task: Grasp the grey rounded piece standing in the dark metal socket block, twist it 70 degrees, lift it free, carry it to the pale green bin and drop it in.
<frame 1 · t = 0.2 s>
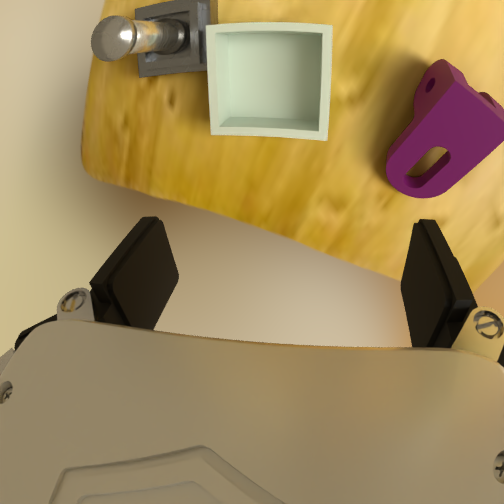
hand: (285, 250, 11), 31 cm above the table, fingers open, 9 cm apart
bin: (274, 75, 34), on the table
mounting bracket: (430, 132, 34), on the table
grey rounded piece: (171, 36, 30), point 3 cm above the table, touching socket block
socket block: (181, 36, 32), on the table
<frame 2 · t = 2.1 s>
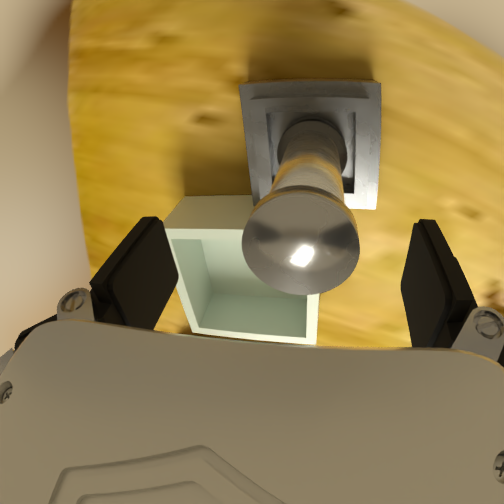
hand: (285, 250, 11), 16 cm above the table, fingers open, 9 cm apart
bin: (256, 253, 32), on the table
grey rounded piece: (313, 147, 22), point 3 cm above the table, touching socket block
socket block: (314, 137, 24), on the table
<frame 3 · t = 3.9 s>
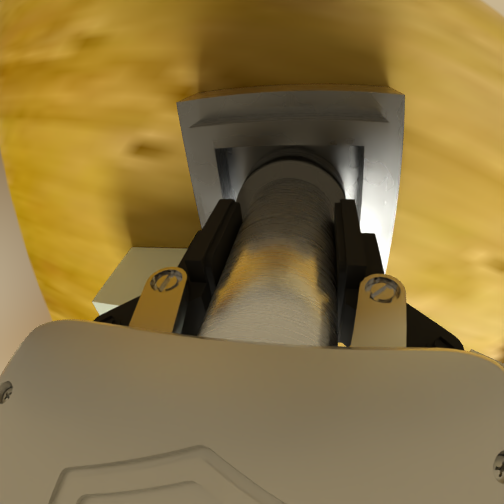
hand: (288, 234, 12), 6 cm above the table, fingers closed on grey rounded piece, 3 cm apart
bin: (227, 314, 25), on the table
grey rounded piece: (294, 196, 15), point 3 cm above the table, touching gripper, socket block
socket block: (297, 172, 17), on the table
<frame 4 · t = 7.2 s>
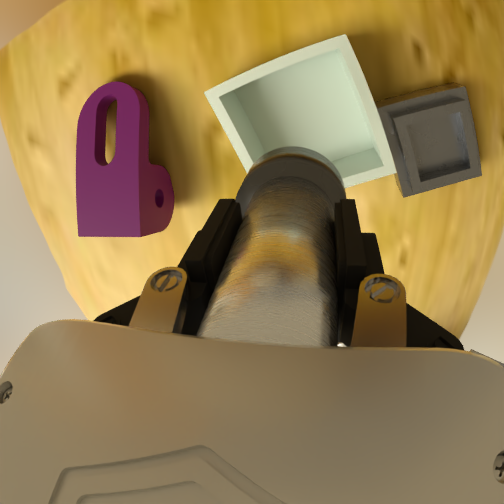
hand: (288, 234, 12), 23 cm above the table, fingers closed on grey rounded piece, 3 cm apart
bin: (306, 115, 30), on the table
mounting bracket: (132, 148, 36), on the table
grey rounded piece: (294, 194, 14), point 19 cm above the table, touching gripper
socket block: (426, 134, 28), on the table
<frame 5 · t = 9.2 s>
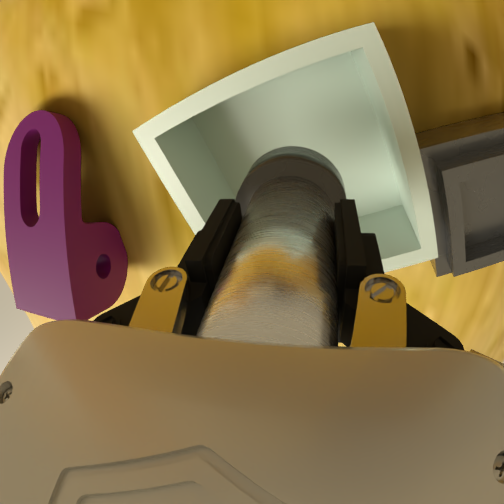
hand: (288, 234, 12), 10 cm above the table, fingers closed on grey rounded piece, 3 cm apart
bin: (302, 153, 20), on the table
mounting bracket: (73, 193, 26), on the table
grey rounded piece: (294, 194, 14), point 7 cm above the table, touching gripper
socket block: (475, 184, 18), on the table
when the fingers open (6 cm above the table, at t = 10.9 s): grey rounded piece drops 2 cm, resting on bin.
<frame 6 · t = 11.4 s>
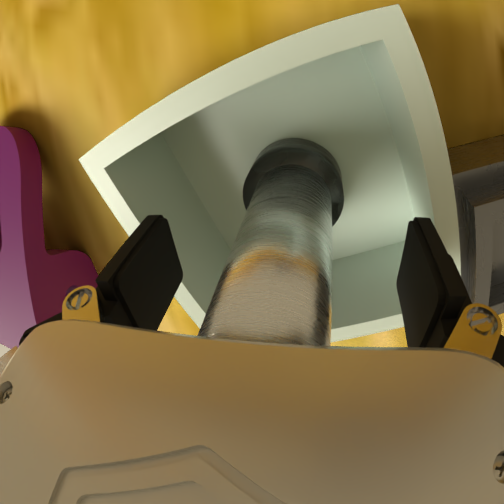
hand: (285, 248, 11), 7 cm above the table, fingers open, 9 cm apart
bin: (297, 176, 16), on the table
mounting bracket: (42, 215, 23), on the table
grey rounded piece: (296, 181, 16), point 1 cm above the table, touching bin
socket block: (501, 211, 15), on the table
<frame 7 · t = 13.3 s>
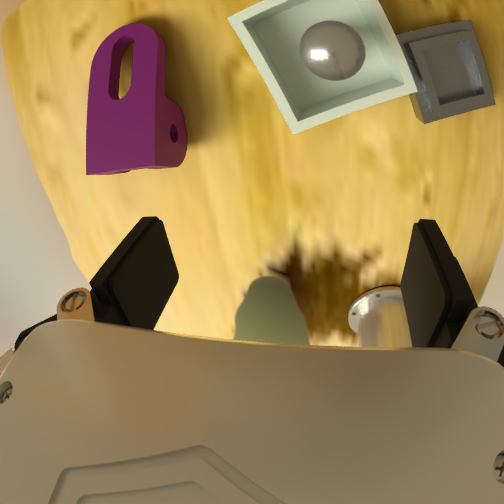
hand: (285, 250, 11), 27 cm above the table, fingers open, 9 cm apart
bin: (323, 47, 27), on the table
mounting bracket: (145, 90, 34), on the table
grey rounded piece: (323, 47, 27), point 1 cm above the table, touching bin
socket block: (439, 67, 25), on the table
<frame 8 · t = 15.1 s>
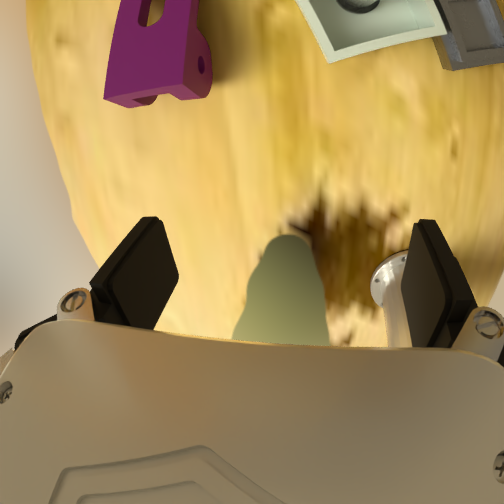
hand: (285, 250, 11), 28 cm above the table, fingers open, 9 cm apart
mounting bracket: (173, 29, 30), on the table
socket block: (462, 25, 22), on the table
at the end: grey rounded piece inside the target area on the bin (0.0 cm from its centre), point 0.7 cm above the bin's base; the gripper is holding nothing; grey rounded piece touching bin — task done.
